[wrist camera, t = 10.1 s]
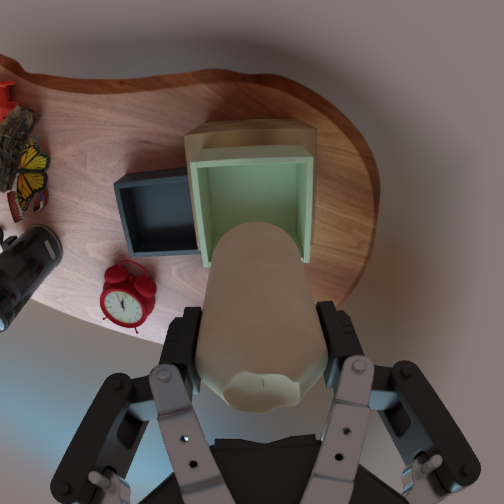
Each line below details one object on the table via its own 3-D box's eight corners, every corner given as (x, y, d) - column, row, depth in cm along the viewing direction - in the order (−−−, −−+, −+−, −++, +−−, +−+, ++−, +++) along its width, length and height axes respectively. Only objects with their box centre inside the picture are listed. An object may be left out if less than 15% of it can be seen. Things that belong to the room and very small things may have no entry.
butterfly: (8, 133, 31) (8, 134, 28) (53, 136, 38) (58, 137, 35) (-1, 204, 34) (-1, 212, 32) (42, 203, 41) (47, 211, 38)
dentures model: (8, 196, 32) (46, 178, 39) (1, 195, 34) (36, 177, 40) (17, 228, 35) (53, 208, 41) (9, 225, 37) (43, 206, 43)
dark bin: (139, 242, 46) (130, 257, 42) (125, 174, 40) (113, 183, 36) (208, 239, 46) (204, 253, 42) (200, 166, 40) (194, 174, 36)
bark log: (14, 191, 40) (-5, 209, 35) (-2, 179, 38) (-22, 196, 33) (46, 108, 33) (23, 119, 28) (27, 95, 31) (3, 105, 26)
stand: (212, 203, 43) (198, 250, 31) (204, 122, 37) (183, 134, 25) (294, 199, 43) (313, 245, 30) (293, 118, 37) (316, 128, 24)
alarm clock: (95, 320, 50) (93, 272, 40) (106, 296, 54) (109, 246, 45) (143, 339, 52) (154, 297, 42) (152, 314, 56) (165, 268, 47)
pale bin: (210, 237, 30) (203, 267, 25) (201, 149, 25) (189, 162, 20) (299, 233, 30) (309, 262, 25) (300, 144, 25) (313, 156, 20)
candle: (239, 204, 17) (233, 329, 8) (315, 246, 18) (364, 375, 10) (198, 273, 19) (170, 406, 11) (269, 305, 21) (281, 435, 12)
